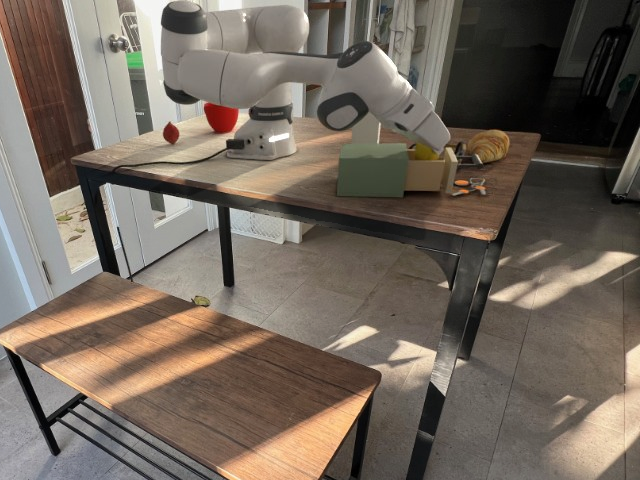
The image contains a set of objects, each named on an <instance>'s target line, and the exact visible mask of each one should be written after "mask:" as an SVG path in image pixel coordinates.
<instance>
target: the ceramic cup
mask: <svg viewBox="0 0 640 480" xmlns="http://www.w3.org/2000/svg"><path fill="white" fill-rule="evenodd" d="M239 110H240V109H234V108H229V107H224V106H220V105H216V104H212V103H209V102H205V103H204V104H203V112H204V114H205V118H206V122H207V123H208V126H209V127H210V128H211V129H212V130H213V131H214V132H215V133H216V134H226V133H230V132H232V131H233V130H234V128H235V126H236V125H237V123H238V119H239V114H240V113H239V112H240V111H239Z"/></svg>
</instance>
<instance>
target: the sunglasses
mask: <svg viewBox="0 0 640 480" xmlns="http://www.w3.org/2000/svg"><path fill="white" fill-rule="evenodd" d="M414 147H416V144H415V143H413V144H411V146H409V147H408V148H407V149H413V148H414ZM466 147H467V144H466V143H465V142H464V141H463V140H461V141H459V142H458V143H456V144H451V143H447V144H446V145H445V146H444V147H443V148H445V149H446V148H452V149H455V150H454V154H455V156H465V153H466V149H467V148H466ZM439 160H442V161H443V160H444V157H442V158H441V157H439ZM457 161H458V164H462V161H463V159H457ZM458 169H459V167H457V169H456V172H457V171H458Z"/></svg>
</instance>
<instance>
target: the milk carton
mask: <svg viewBox="0 0 640 480" xmlns="http://www.w3.org/2000/svg"><path fill="white" fill-rule="evenodd" d="M381 126H382V125H381V123H380V122H379V121H378V120H377V119H376V118H375V117H374V115H373V114H372V113H370V112H368V113H367V115H366V116H365V117H364V118H363V119H362V120H360V121H359V122H358V123H357V124H355V125H354V126H353V127H351V141H350V142H351V143H350V144H372V143H380V137H381V136H380V133H381Z"/></svg>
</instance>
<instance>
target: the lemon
mask: <svg viewBox="0 0 640 480" xmlns="http://www.w3.org/2000/svg"><path fill="white" fill-rule="evenodd" d="M414 149H415V158H416V160H437V159H438V157H439V158H440V156H439V155H437V154H435V153H433V152H432V150H431V148H429V147H427V146H425V145H422V144H420V143H418V142H417V145H415V148H414Z"/></svg>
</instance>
